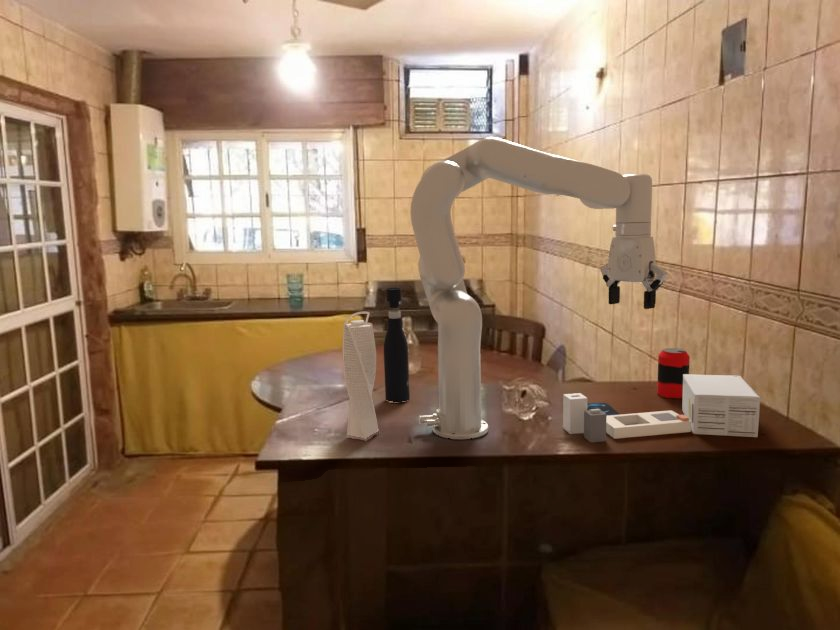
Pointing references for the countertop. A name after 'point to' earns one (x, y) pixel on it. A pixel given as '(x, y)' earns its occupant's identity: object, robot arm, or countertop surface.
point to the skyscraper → (360, 375)
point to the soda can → (672, 372)
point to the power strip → (646, 424)
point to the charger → (574, 412)
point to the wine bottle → (395, 352)
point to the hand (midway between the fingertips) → (631, 305)
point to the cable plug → (594, 425)
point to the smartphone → (603, 408)
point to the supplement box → (720, 405)
